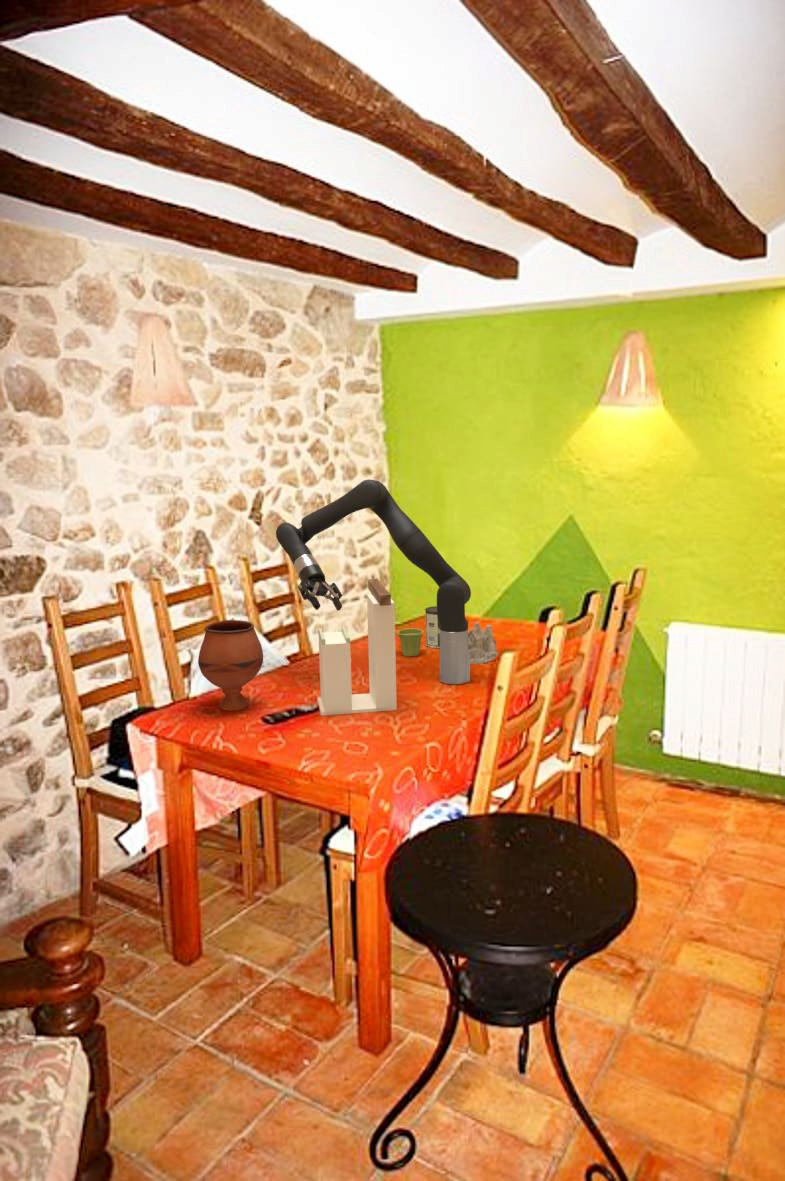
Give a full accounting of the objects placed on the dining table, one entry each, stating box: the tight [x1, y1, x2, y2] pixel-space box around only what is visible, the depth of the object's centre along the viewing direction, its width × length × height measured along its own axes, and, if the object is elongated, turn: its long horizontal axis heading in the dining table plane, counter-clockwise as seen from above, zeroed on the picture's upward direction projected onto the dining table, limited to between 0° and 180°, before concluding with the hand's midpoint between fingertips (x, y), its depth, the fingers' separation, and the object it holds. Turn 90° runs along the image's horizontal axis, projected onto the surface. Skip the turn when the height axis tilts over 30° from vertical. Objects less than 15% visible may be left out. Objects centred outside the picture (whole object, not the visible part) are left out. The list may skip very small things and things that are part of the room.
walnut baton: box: [367, 578, 392, 606], centre depth 237 cm, size 3×26×3 cm, turn 9°
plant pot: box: [396, 628, 424, 657], centre depth 292 cm, size 9×9×9 cm
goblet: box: [197, 619, 264, 712], centre depth 238 cm, size 19×19×25 cm
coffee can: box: [424, 605, 440, 649], centre depth 304 cm, size 10×10×14 cm
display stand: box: [317, 593, 397, 716], centre depth 236 cm, size 22×14×32 cm, turn 99°
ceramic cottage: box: [468, 621, 499, 665], centre depth 286 cm, size 16×16×15 cm
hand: (329, 608), depth 252 cm, fingers open, 8 cm apart
